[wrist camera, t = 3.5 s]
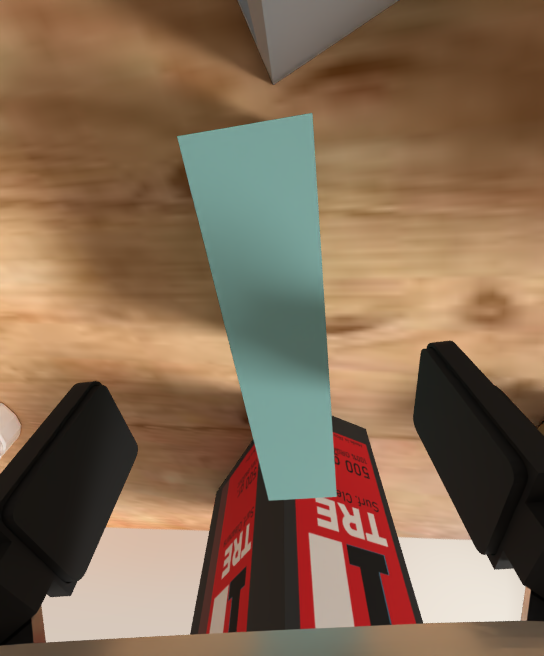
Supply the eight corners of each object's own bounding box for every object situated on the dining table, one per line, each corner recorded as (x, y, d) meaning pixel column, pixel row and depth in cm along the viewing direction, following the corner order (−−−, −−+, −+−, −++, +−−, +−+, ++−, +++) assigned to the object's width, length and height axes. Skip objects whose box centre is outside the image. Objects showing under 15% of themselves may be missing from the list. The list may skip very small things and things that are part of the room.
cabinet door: (312, 337, 25) (336, 496, 14) (260, 343, 25) (242, 502, 14) (293, 132, 18) (312, 112, 7) (221, 144, 18) (125, 145, 7)
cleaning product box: (283, 396, 28) (286, 798, 11) (365, 428, 30) (480, 816, 13) (216, 492, 36) (156, 816, 18) (285, 513, 38) (288, 826, 20)
